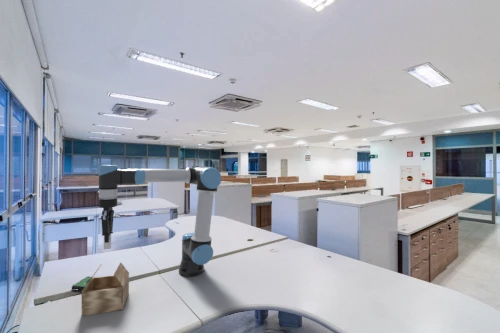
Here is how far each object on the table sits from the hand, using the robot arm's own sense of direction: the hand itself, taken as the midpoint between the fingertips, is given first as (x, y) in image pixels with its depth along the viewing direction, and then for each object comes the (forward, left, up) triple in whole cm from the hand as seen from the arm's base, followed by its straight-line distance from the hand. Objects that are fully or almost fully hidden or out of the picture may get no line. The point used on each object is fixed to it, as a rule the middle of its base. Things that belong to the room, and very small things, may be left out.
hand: (107, 248), depth 111 cm
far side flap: (+8, 0, -16) cm, 18 cm away
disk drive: (+12, -20, -27) cm, 35 cm away
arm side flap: (-8, 0, -16) cm, 18 cm away
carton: (0, 0, -26) cm, 26 cm away
